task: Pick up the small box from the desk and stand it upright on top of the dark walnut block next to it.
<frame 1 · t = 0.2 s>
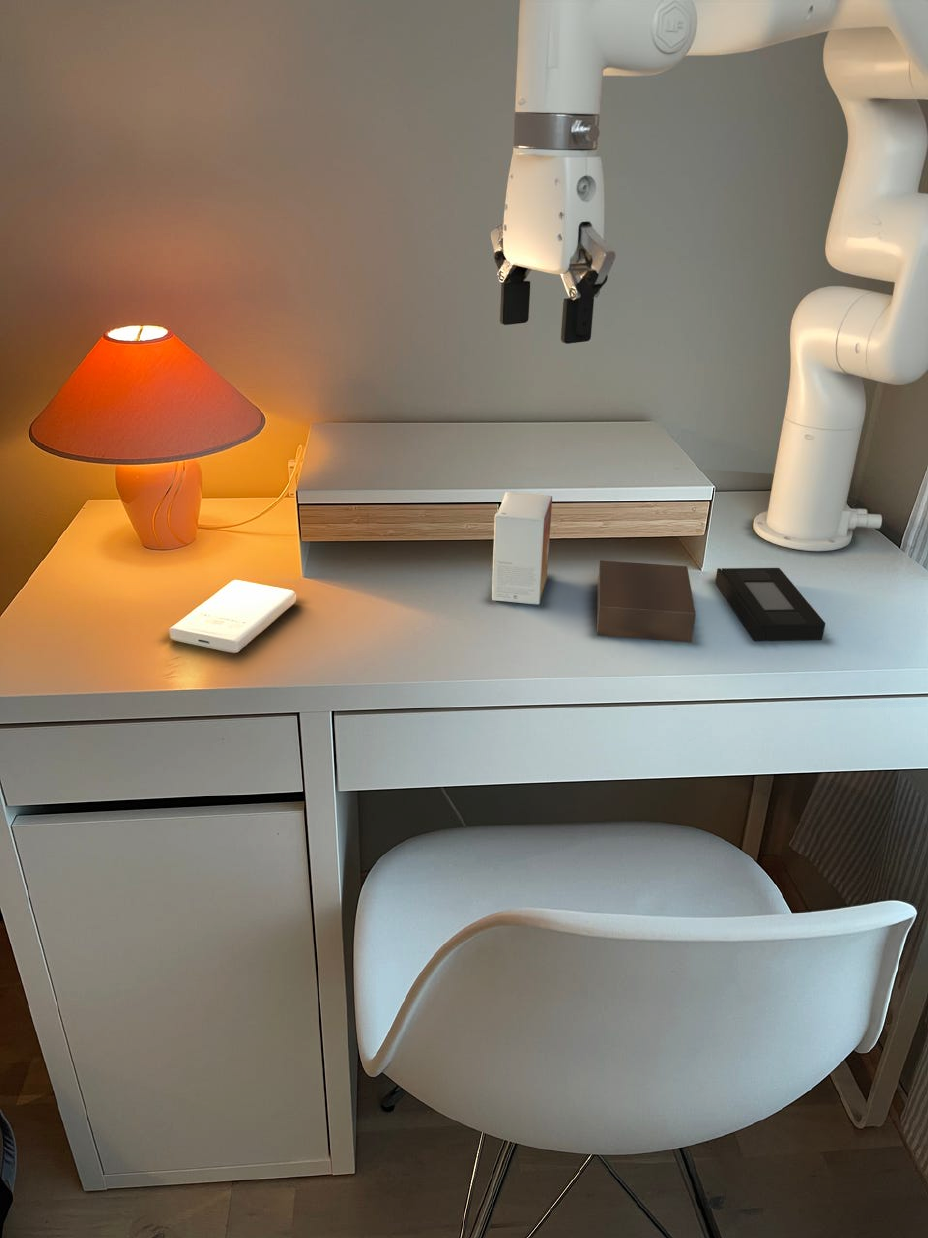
hand: (543, 332, 96), 31 cm above the table, tool pointing down, fingers open, 9 cm apart
hard drive: (235, 622, 108), on the table
small box: (520, 590, 116), on the table
vhs tape: (765, 612, 112), on the table
walnut block: (642, 613, 111), on the table
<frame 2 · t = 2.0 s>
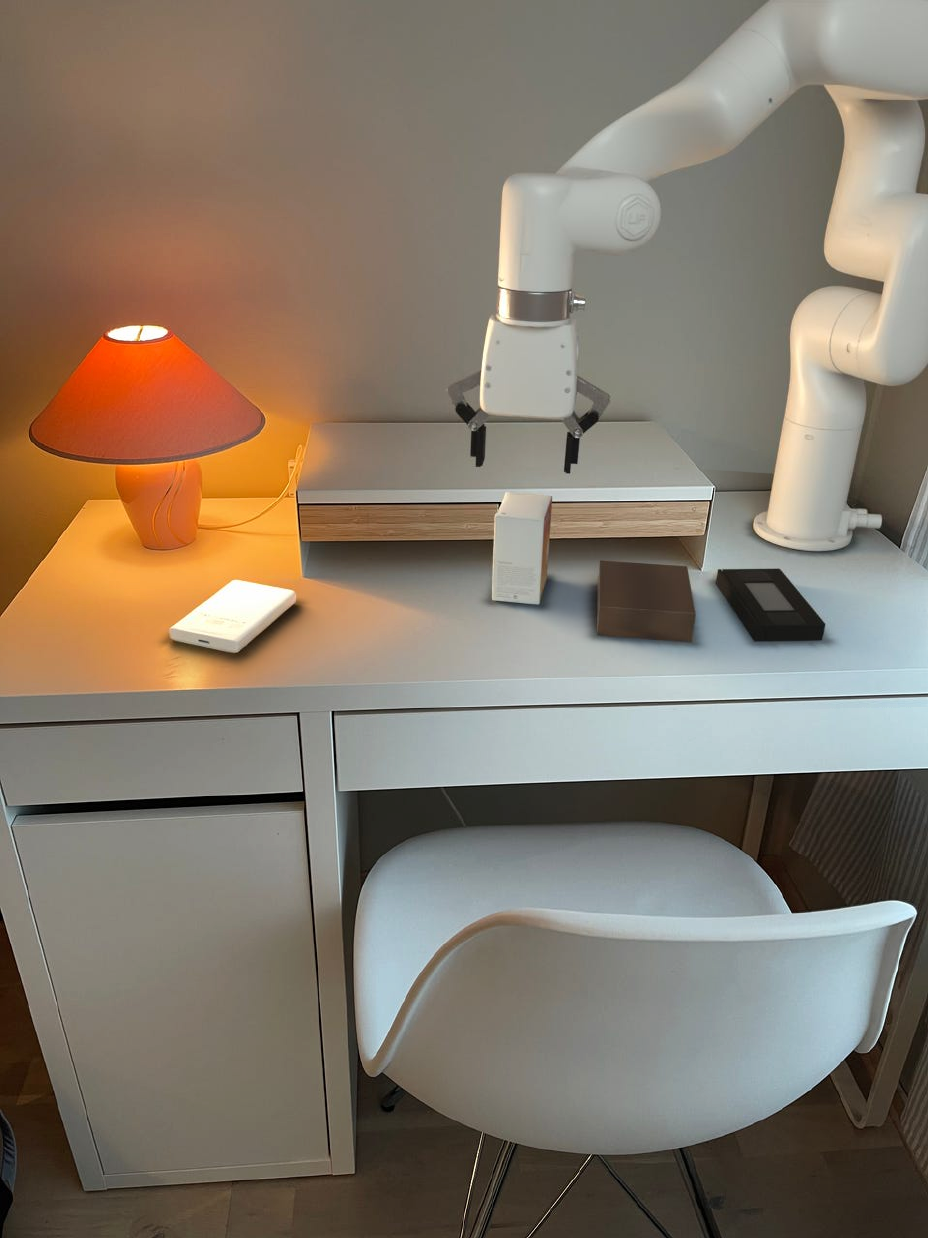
hand: (523, 466, 109), 15 cm above the table, tool pointing down, fingers open, 9 cm apart
nothing on the table moved.
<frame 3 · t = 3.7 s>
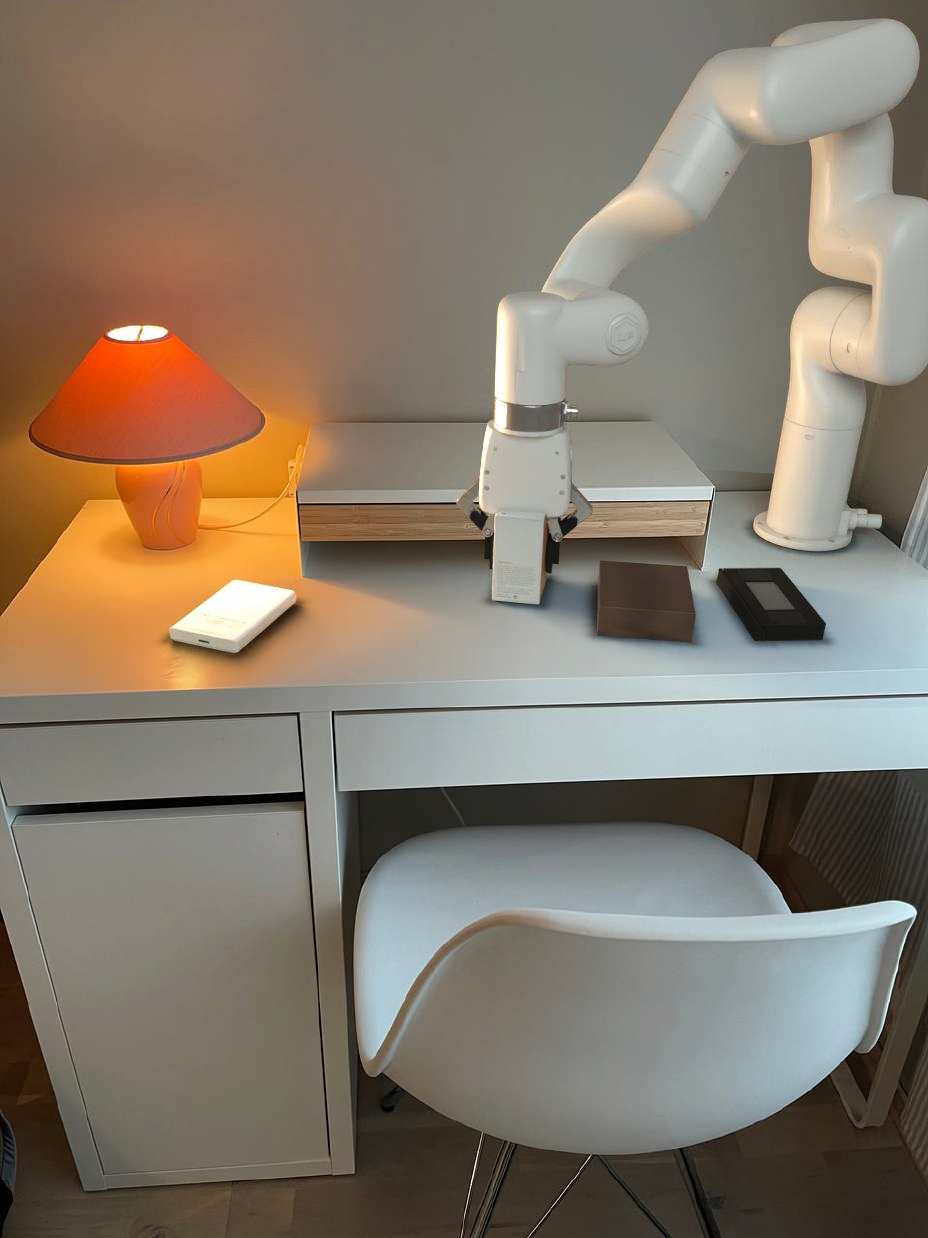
hand: (521, 565, 114), 3 cm above the table, tool pointing down, fingers closed on small box, 5 cm apart
small box: (520, 590, 116), on the table, touching gripper
everything else where it was.
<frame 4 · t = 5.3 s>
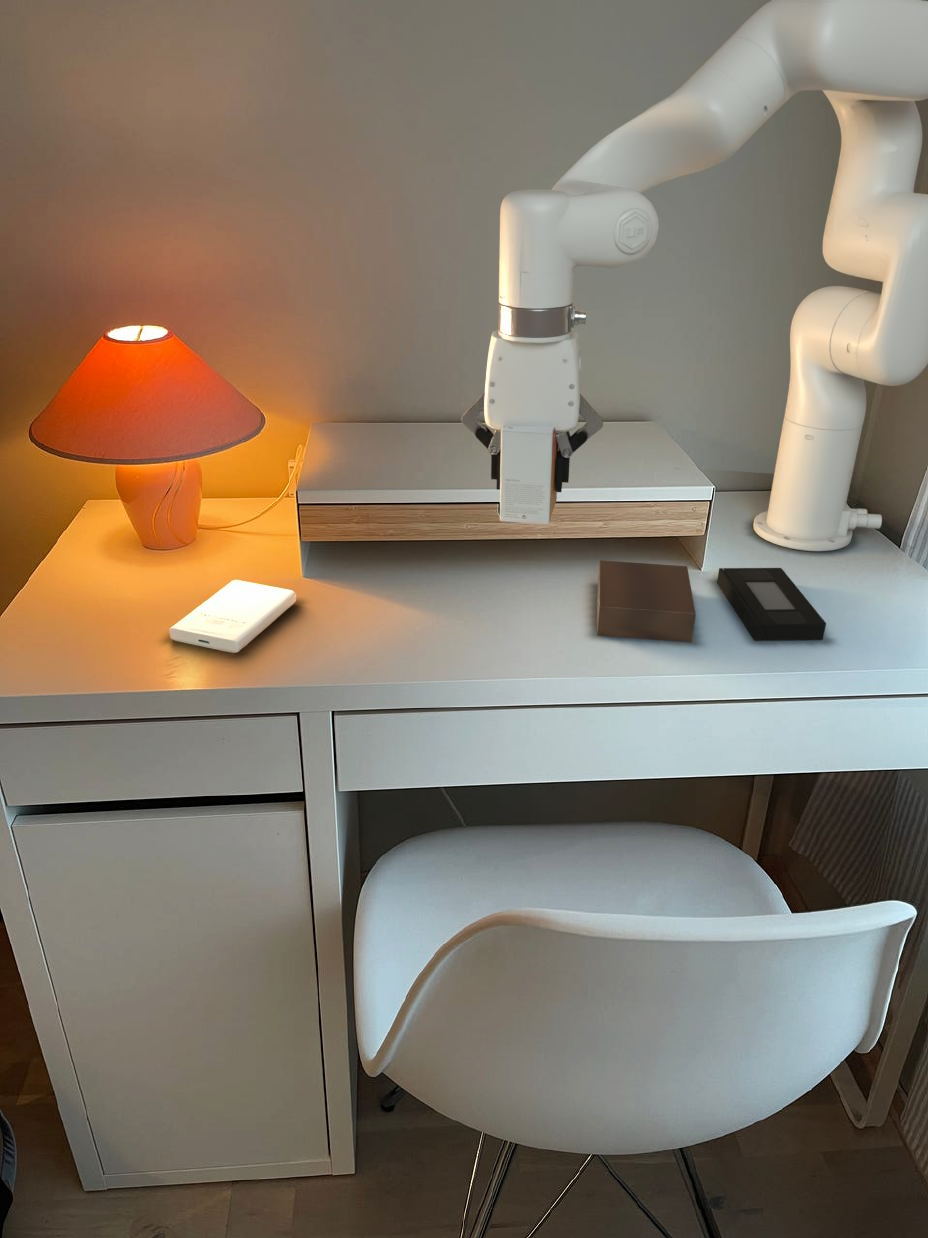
hand: (529, 485, 110), 13 cm above the table, tool pointing down, fingers closed on small box, 5 cm apart
small box: (528, 512, 112), point 9 cm above the table, touching gripper
everything else where it was.
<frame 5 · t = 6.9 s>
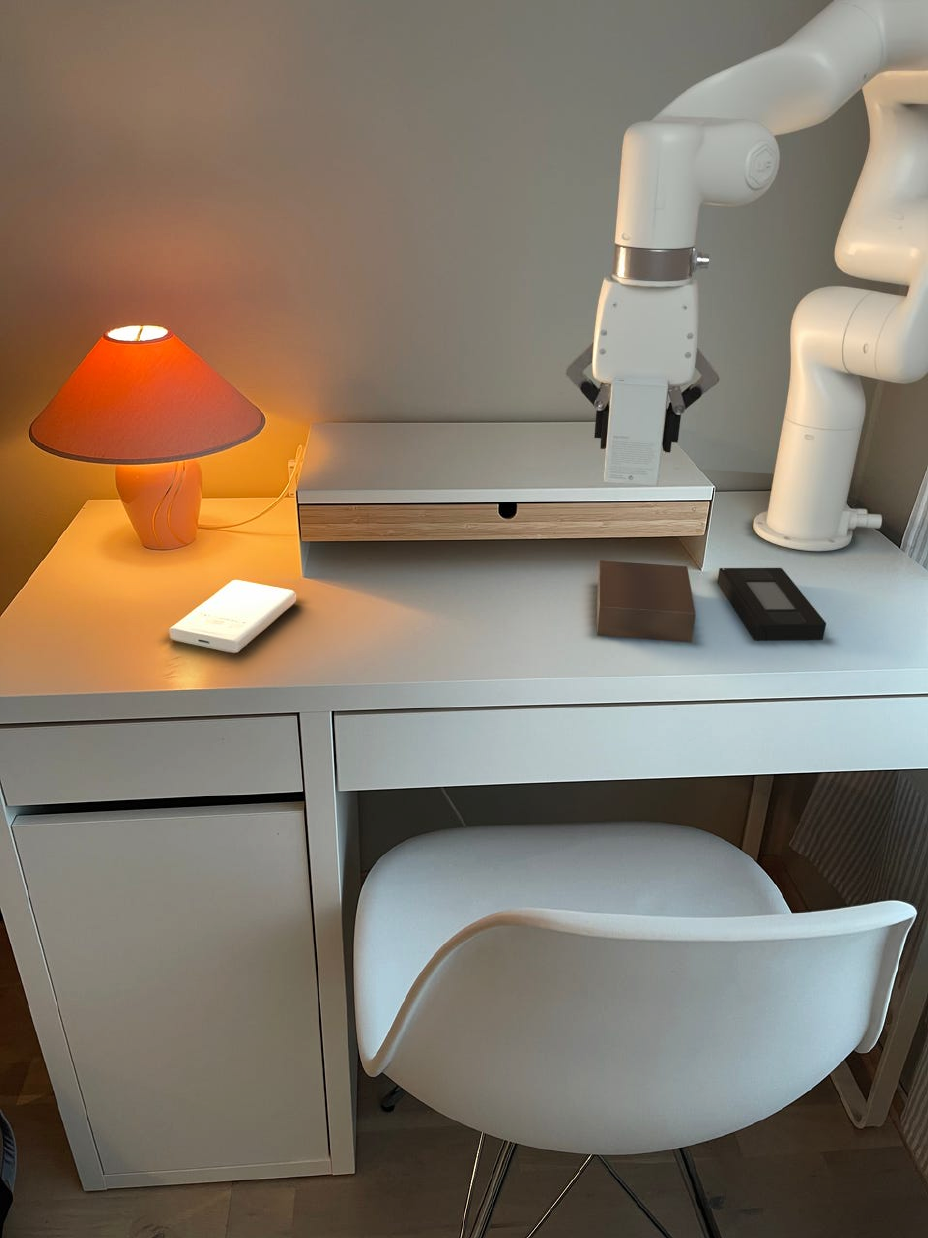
hand: (634, 445, 103), 19 cm above the table, tool pointing down, fingers closed on small box, 5 cm apart
small box: (632, 474, 105), point 16 cm above the table, touching gripper
everything else where it was.
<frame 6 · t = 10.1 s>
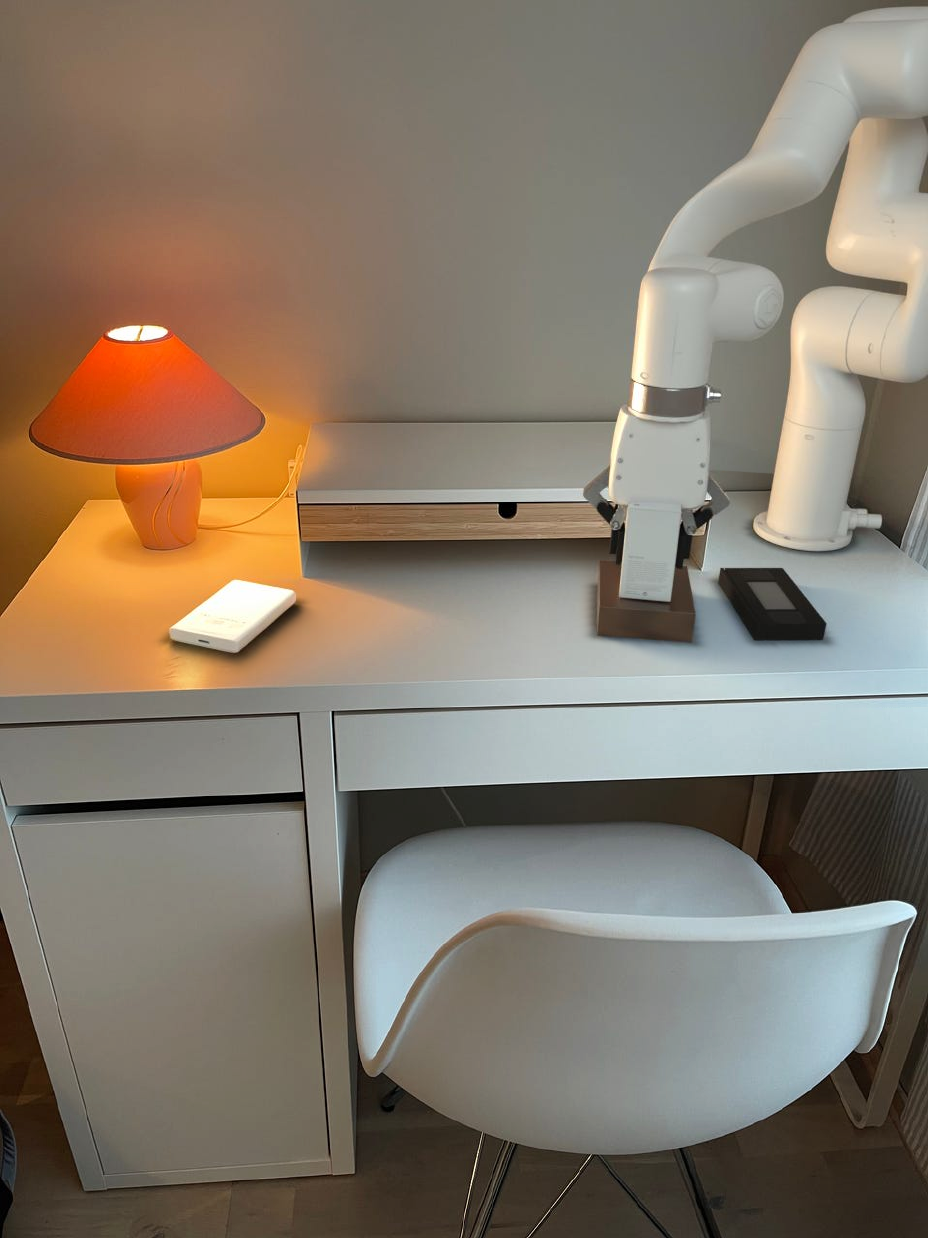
hand: (648, 560, 108), 7 cm above the table, tool pointing down, fingers closed on small box, 5 cm apart
small box: (645, 587, 109), point 3 cm above the table, touching gripper, walnut block
walnut block: (642, 613, 111), on the table, touching small box
everything else where it was.
when the fingers open (7 cm above the table, at t = 10.3 s): small box stays where it is, resting on walnut block.
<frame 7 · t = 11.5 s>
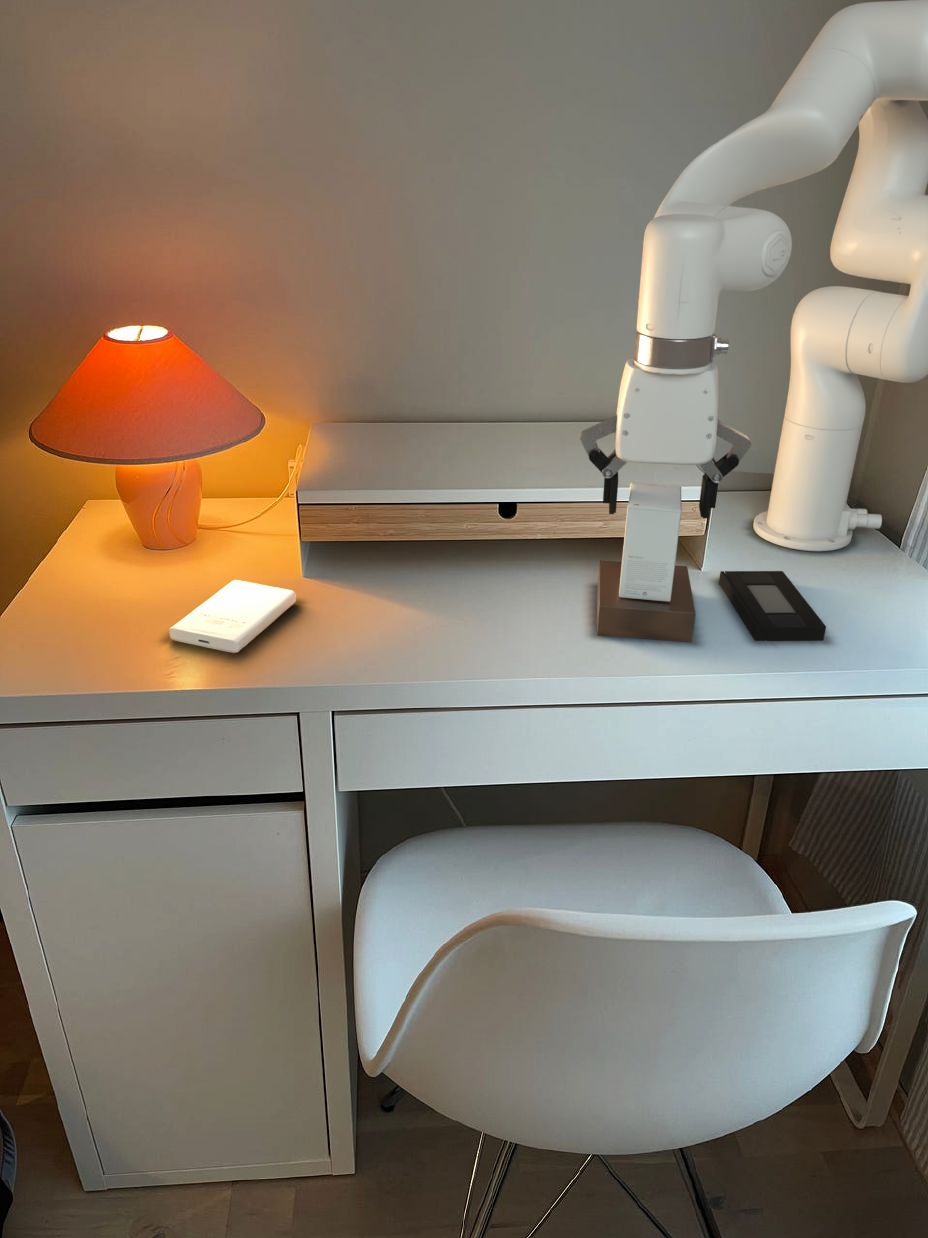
hand: (657, 511, 106), 12 cm above the table, tool pointing down, fingers open, 9 cm apart
small box: (645, 587, 109), point 3 cm above the table, touching walnut block
everything else where it was.
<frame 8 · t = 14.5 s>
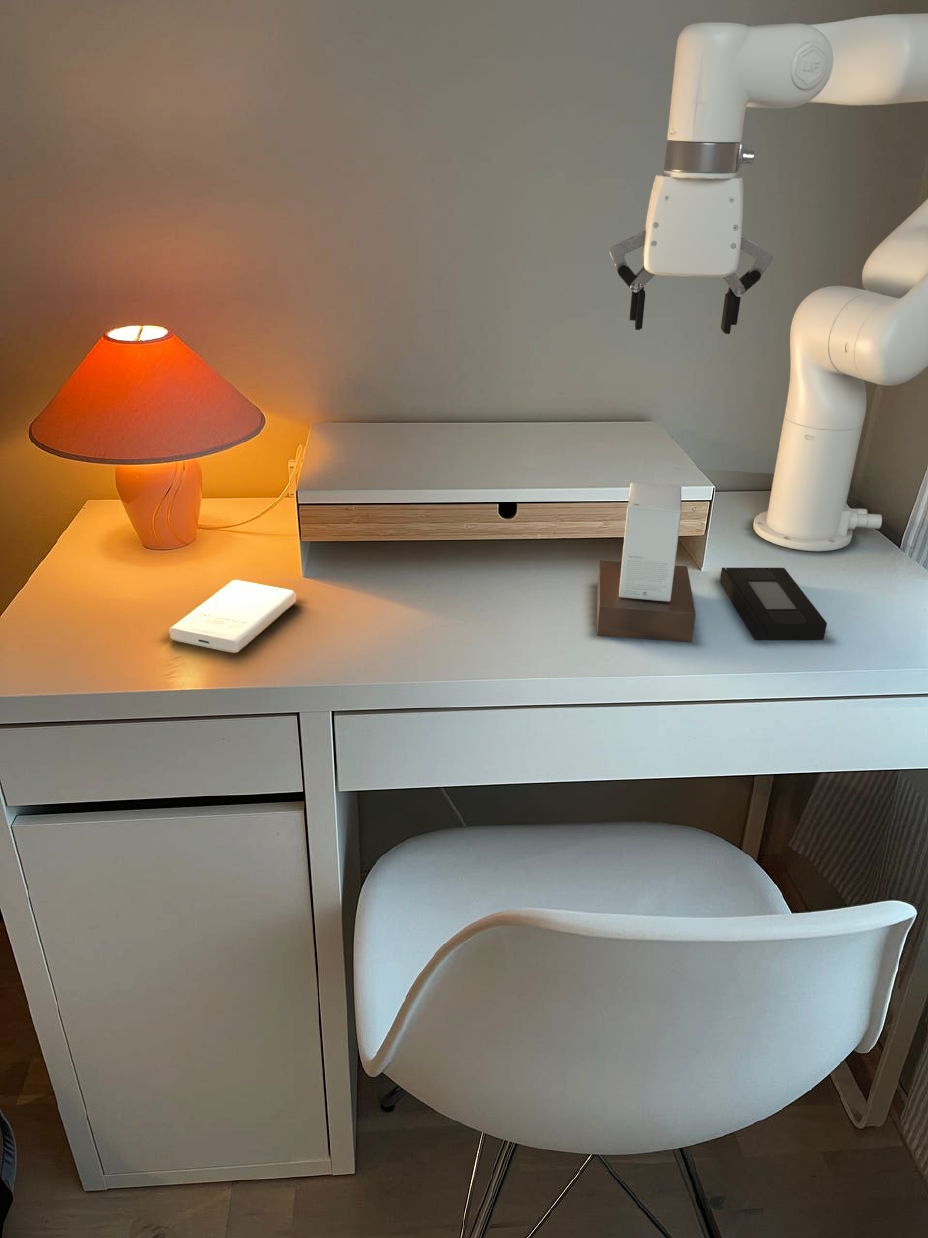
hand: (681, 329, 111), 28 cm above the table, tool pointing down, fingers open, 9 cm apart
nothing on the table moved.
at the end: small box 0.0 cm off-centre on the walnut block, point 3.3 cm above the walnut block's base; small box tilted 0°; small box touching walnut block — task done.
